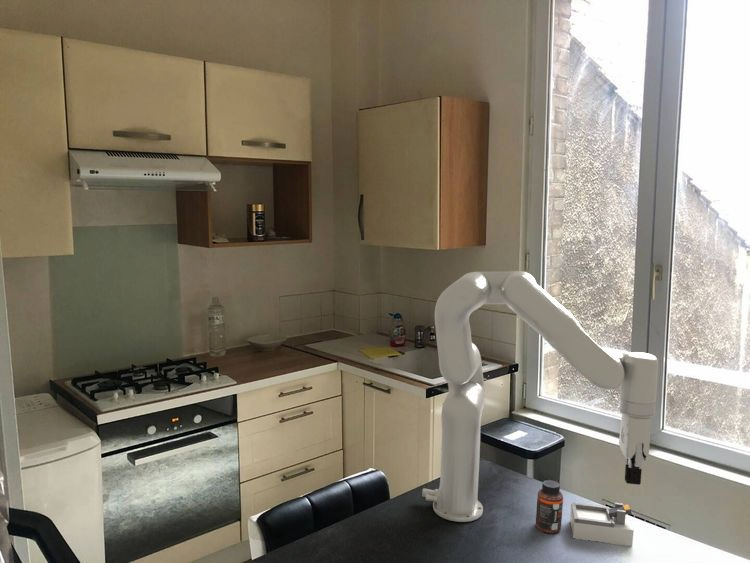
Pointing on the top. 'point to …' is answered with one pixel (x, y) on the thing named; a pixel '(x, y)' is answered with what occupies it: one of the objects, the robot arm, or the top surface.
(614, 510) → the breaker lever
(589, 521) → the box
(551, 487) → the supplement bottle
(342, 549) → the top surface
